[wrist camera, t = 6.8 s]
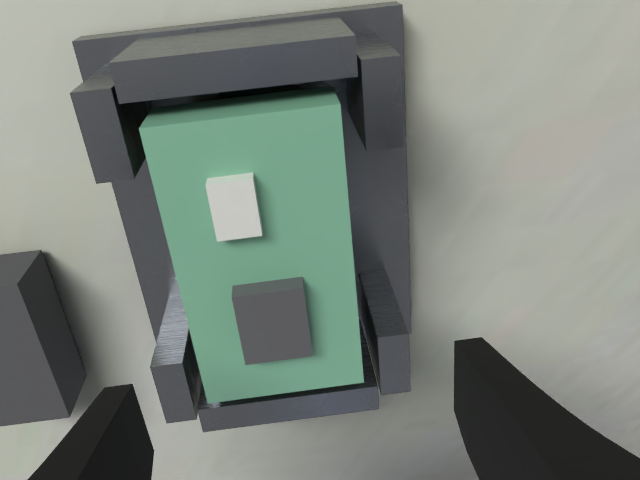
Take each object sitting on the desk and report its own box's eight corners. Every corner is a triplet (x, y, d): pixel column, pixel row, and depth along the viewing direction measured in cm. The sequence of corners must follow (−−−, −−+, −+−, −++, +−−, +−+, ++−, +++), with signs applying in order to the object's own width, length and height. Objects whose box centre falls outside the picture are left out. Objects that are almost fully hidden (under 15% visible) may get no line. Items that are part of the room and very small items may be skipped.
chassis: (396, 1, 19) (435, 21, 14) (406, 319, 25) (436, 403, 20) (81, 36, 18) (23, 68, 14) (166, 349, 24) (144, 442, 20)
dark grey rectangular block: (86, 375, 24) (69, 417, 22) (13, 385, 24) (-11, 427, 22) (41, 250, 22) (16, 284, 20) (-41, 260, 22) (-75, 295, 19)
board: (332, 85, 16) (343, 110, 14) (355, 343, 21) (366, 395, 18) (152, 107, 16) (133, 135, 14) (212, 363, 20) (206, 417, 18)
